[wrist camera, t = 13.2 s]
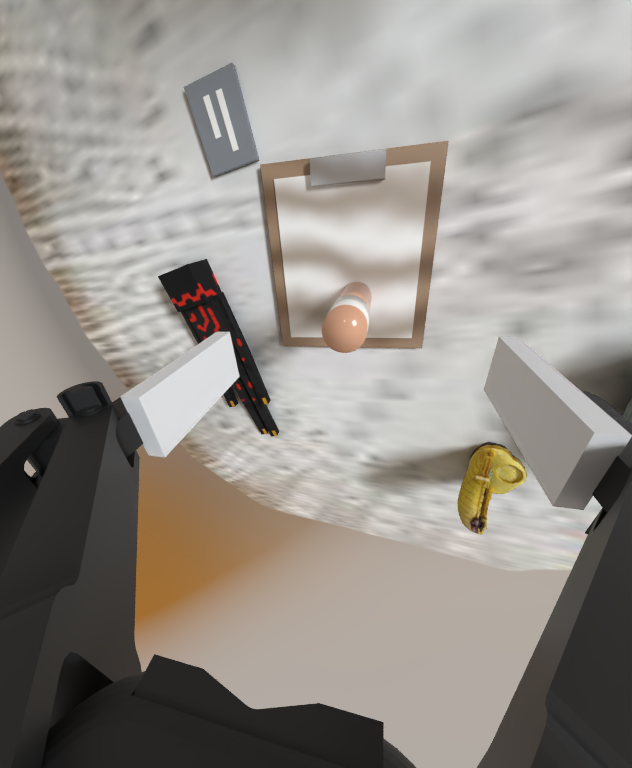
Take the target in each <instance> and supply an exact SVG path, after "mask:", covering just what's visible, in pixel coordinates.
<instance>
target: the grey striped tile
mask: <svg viewBox="0 0 632 768" xmlns="http://www.w3.org/2000/svg"><path fill="white" fill-rule="evenodd" d="M184 90H185V93H186V96H187V99H188V102H189V105H190V108H191V111H192V114H193V117H194V120H195V123H196V126H197V129H198V132H199V135H200V138H201V142H202V145H203V148H204V151H205V154H206V157H207V160H208V163H209V166H210V169H211V172H212V175H213V176H214V177H216V176H219V175H221V174H224V173H227V172H229V171H232V170H235V169H237V168H240V167H243V166H245V165H248V164H250V163H253V162H256V161H258V160H259V157H258V153H257V150H256V146H255V142H254V138H253V134H252V130H251V127H250V123H249V119H248V115H247V111H246V107H245V104H244V100H243V96H242V92H241V88H240V84H239V81H238V77H237V73H236V69H235V66H234V65H233V63H231V64H229V65H227V66H225V67H223V68H221V69H219V70H217V71H215V72H213V73H211V74H209V75H207V76H205V77H203V78H201V79H199V80H197V81H195V82H193V83H191V84H189V85H187V86H185V87H184Z"/></svg>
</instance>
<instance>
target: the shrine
mask: <svg viewBox="0 0 632 768" xmlns="http://www.w3.org/2000/svg"><path fill="white" fill-rule="evenodd" d="M526 478H527V473H526V471H525V467H524V466H523V465H522V463H521V462H520V460H519V459H517V458H516V457H515V456H513V455H512V454H511V452H510V451H508V450H507V448H506V447H505V446H503V445H500V444H496V443H485V444H483V445H481V446H480V447H479V448H477V449H475V450H474V452H473V453H472V455H471V457H470V462H469V468H468V470H467V472H466V474H465V477H464V480H463V482H462V485H461V489H460V492H459V497H458V512H459V516H460V519H461V521H462V523H463V524H464V526H465V527H467V528H468V529H469V530H470V531H472V532H475V533H478V534H482V533H483V530H484V529H487V521H486V520H487V517H486V516H487V510H488V505H489V501H490V500H491V494H492V493H495V494H505V493H507V492H509V491H510V490H512V489H513V488H516V487H518V486H520V485H521V484H522V483H524V482H525V480H526Z"/></svg>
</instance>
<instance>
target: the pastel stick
mask: <svg viewBox="0 0 632 768" xmlns="http://www.w3.org/2000/svg"><path fill="white" fill-rule="evenodd" d="M371 300H372V294H371V291H370V289H369V287H368V286H367V285H366V284H364V283H362V282H352V283H350V284H348V285H347V286H346V287H345V288H344V289H343V291H342V292H341V294H340V296H339V297H338V299H337V300H336V302H335V303H334V304H333V306H332V308H331V309H330V311H329V312H328V314H327V316H326V318H325V320H324V322H323V325H322V336H323V339H324V341H325V343H326V344H327V345H328V346H329V347H330V348H331V349H333V350H335V351H337V352H341V353H348V352H352V351H355V350H356V349H358V348H359V347H360V346H361V345H362V344H363V343H364V341H365V339H366V335H367V331H368V325H369V318H370V307H371Z"/></svg>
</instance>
